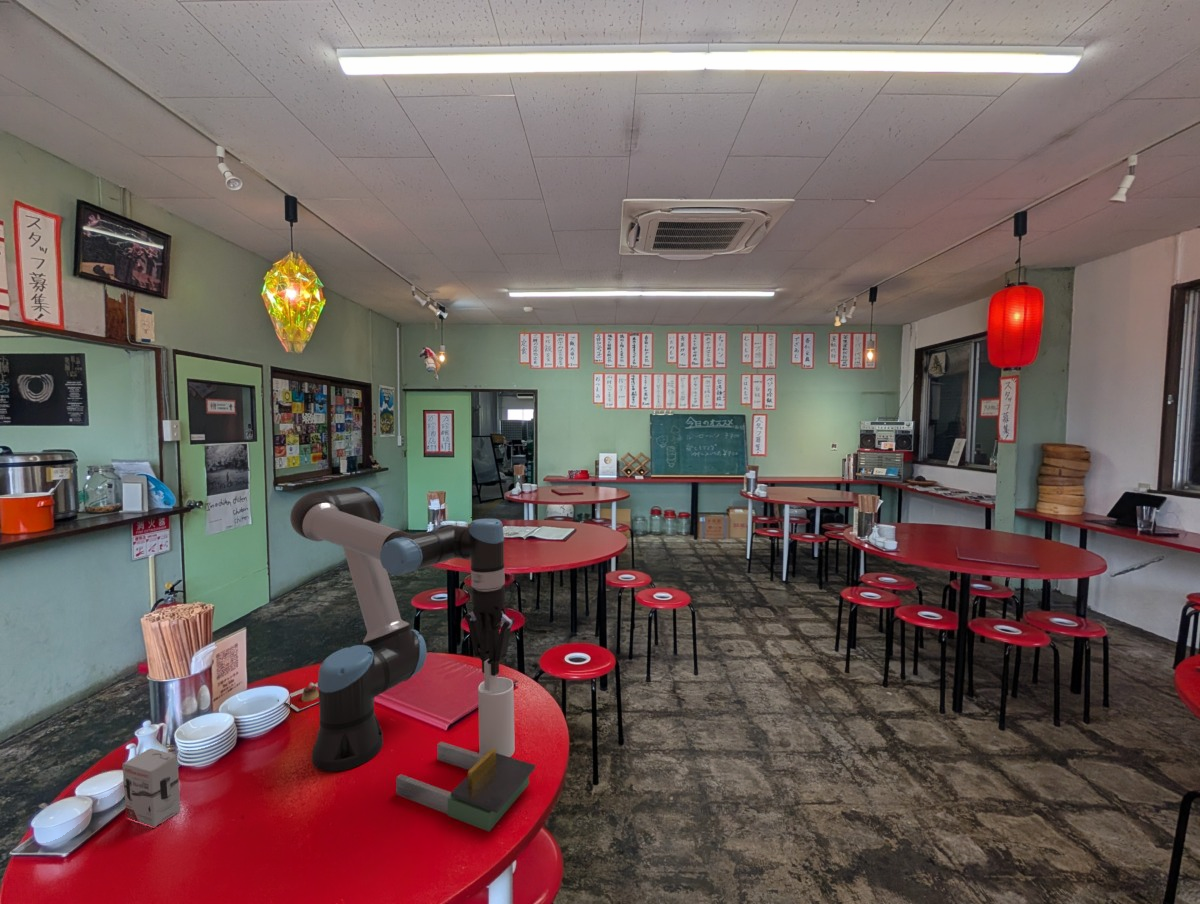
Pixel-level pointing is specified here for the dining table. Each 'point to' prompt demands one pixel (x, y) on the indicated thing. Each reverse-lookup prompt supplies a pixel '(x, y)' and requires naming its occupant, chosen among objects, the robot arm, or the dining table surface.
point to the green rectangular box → (480, 810)
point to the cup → (497, 718)
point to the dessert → (306, 695)
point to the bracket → (430, 793)
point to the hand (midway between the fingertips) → (491, 687)
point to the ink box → (151, 787)
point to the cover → (493, 781)
